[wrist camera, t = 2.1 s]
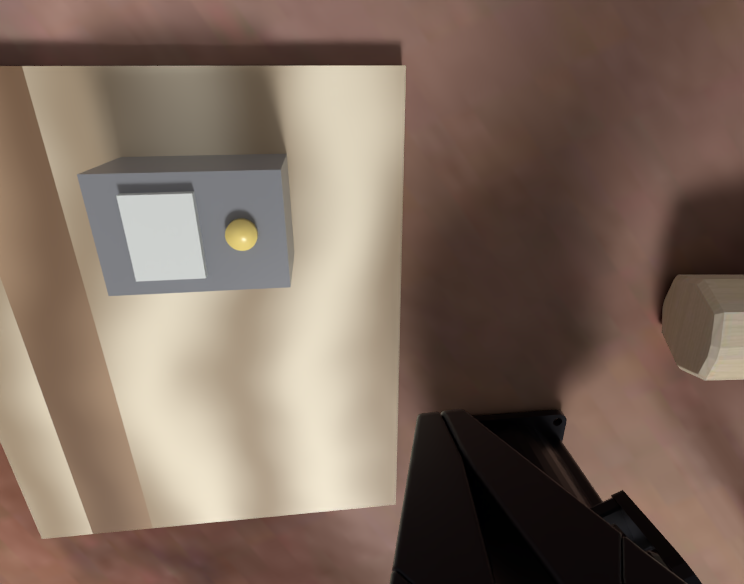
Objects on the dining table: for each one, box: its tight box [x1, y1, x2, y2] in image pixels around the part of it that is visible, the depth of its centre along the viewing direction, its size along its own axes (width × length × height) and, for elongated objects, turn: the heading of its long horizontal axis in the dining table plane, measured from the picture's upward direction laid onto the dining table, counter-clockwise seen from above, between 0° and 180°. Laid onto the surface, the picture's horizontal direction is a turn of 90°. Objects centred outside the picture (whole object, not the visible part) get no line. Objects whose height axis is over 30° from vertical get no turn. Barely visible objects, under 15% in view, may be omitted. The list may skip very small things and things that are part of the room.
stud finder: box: [77, 154, 294, 296], centre depth 16 cm, size 6×4×4 cm, turn 90°
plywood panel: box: [0, 65, 406, 539], centre depth 21 cm, size 18×22×1 cm
